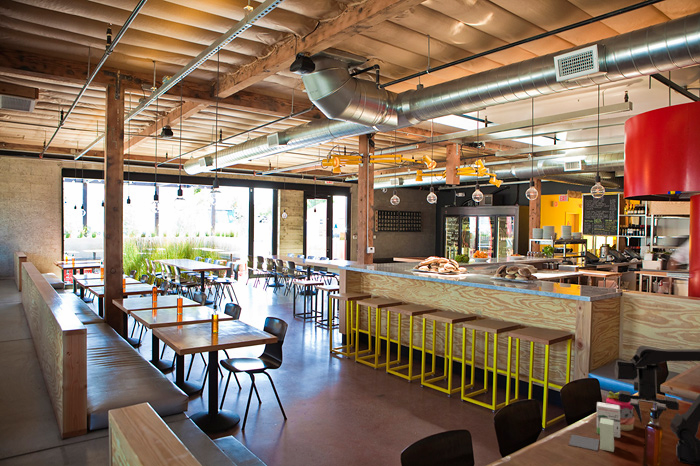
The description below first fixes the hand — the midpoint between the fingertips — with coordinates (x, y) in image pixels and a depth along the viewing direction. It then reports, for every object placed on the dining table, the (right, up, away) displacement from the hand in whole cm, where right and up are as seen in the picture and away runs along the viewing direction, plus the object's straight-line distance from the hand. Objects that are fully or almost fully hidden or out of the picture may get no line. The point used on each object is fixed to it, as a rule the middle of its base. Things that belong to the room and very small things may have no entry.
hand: (648, 423), depth 170 cm
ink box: (-4, -13, +19) cm, 24 cm away
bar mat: (-18, -12, +11) cm, 25 cm away
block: (-12, -12, +7) cm, 18 cm away
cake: (+6, -13, +28) cm, 31 cm away
